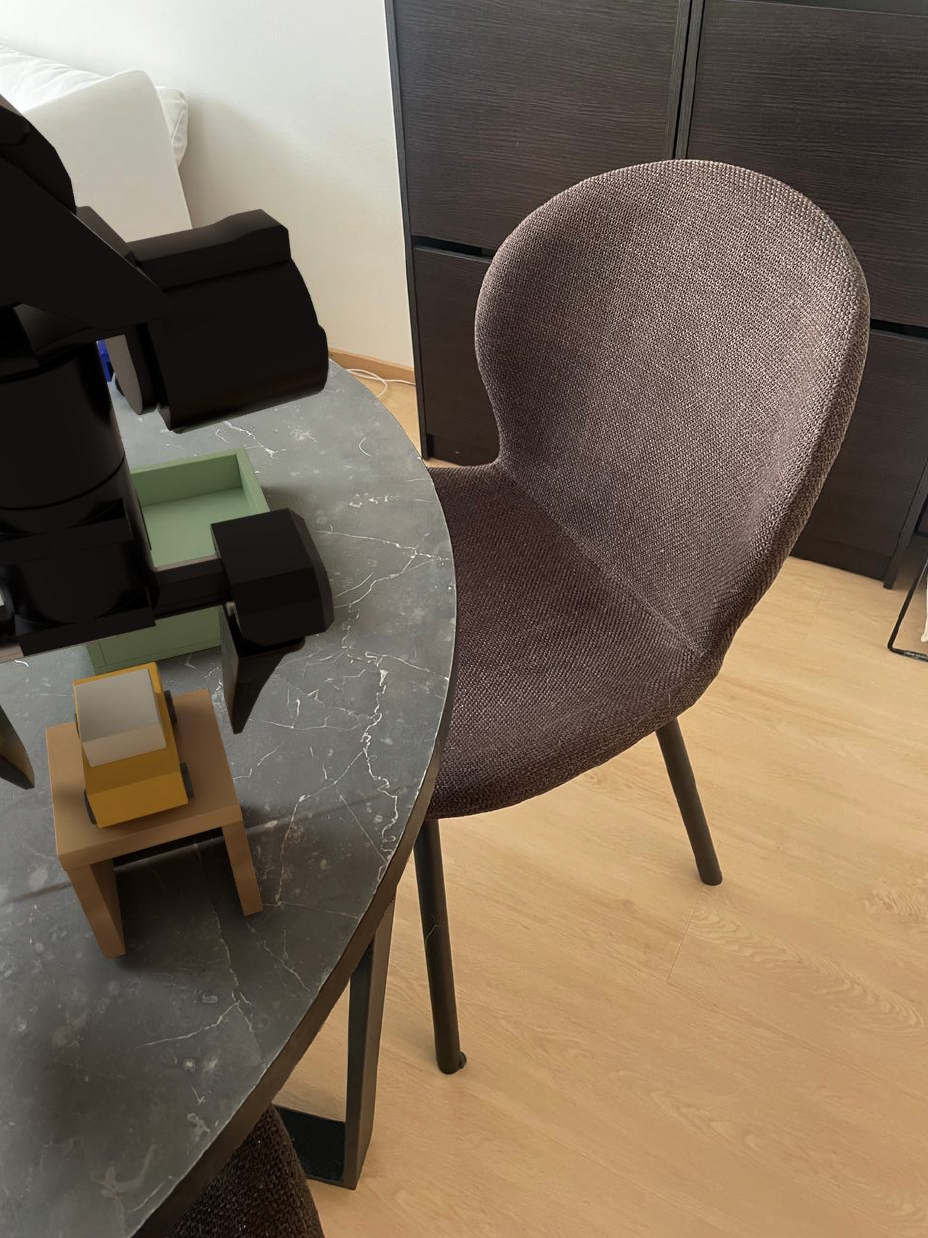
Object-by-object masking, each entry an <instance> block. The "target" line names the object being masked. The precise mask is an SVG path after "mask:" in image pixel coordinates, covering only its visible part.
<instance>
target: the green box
mask: <svg viewBox="0 0 928 1238" xmlns="http://www.w3.org/2000/svg"><path fill="white" fill-rule="evenodd" d="M129 469H130V473H131V477H132V481H133V485H134V486H135V488H136V489H137V492H138V496H139V500H140V504H141V508H142V512H143V516H144V519H145V523H146V527H147V531H148V535H149V539H150V543H151V548H152V550H151V555H152V559H153V562H154V566H155V567H158V566H163V565H167V564H172V563H176V562H181V561H186V560H190V559H195V558H200V557H204V556H209V555H212V554H214V553H215V550H214V545H213V540H212V536H211V531H210V524H212V523H217V522H222V521H226V520H231V519H236V518H241V517H246V516H250V515H255V514H260V513H265V512H270V511H271V509H270V507H269V504H268V501H267V499H266V496H265V494H264V492H263V489H262V486H261V485H260V481H259V479H258V477H257V475H256V471H255V469H254V466H253V465H252V462H251V460H250V457H249V455H248V452H247V450H246V447H244V446H243V447H238V448H231V449H227V450H222V451H215V452H210V453H206V454H200V455H194V456H190V457H184V458H178V459H174V460H168V461H163V462H158V463H152V464H147V465H142V466H137V467H129ZM155 622H156V626H154V627H150V628H146V629H141V630H137V631H133V632H129V633H124V634H120V635H119V636H117V637H114V638H110V639H105V640H101V641H97V642H92V643H88V644H84V646H85V649H86V652H87V655H88V658H89V661H90V664H91V667H92V670H93V673H94V676H98V675H102V674H106V673H110V672H115V671H119V670H123V669H127V668H131V667H135V666H140V665H144V664H148V663H152V662H157V661H161V660H165V659H170V658H174V657H178V656H182V655H186V654H187V655H188V654H190V653H195V652H198V651H204V650H206V649H211V648H215V647H219V646H220V647H221V642H220V626H219V617H218V610H217V606H216V607H211V608H207V609H203V610H198V611H194V612H190V613H185V614H181V615H177V616H172V617H168V618H163V619H159V620H155Z"/></svg>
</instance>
